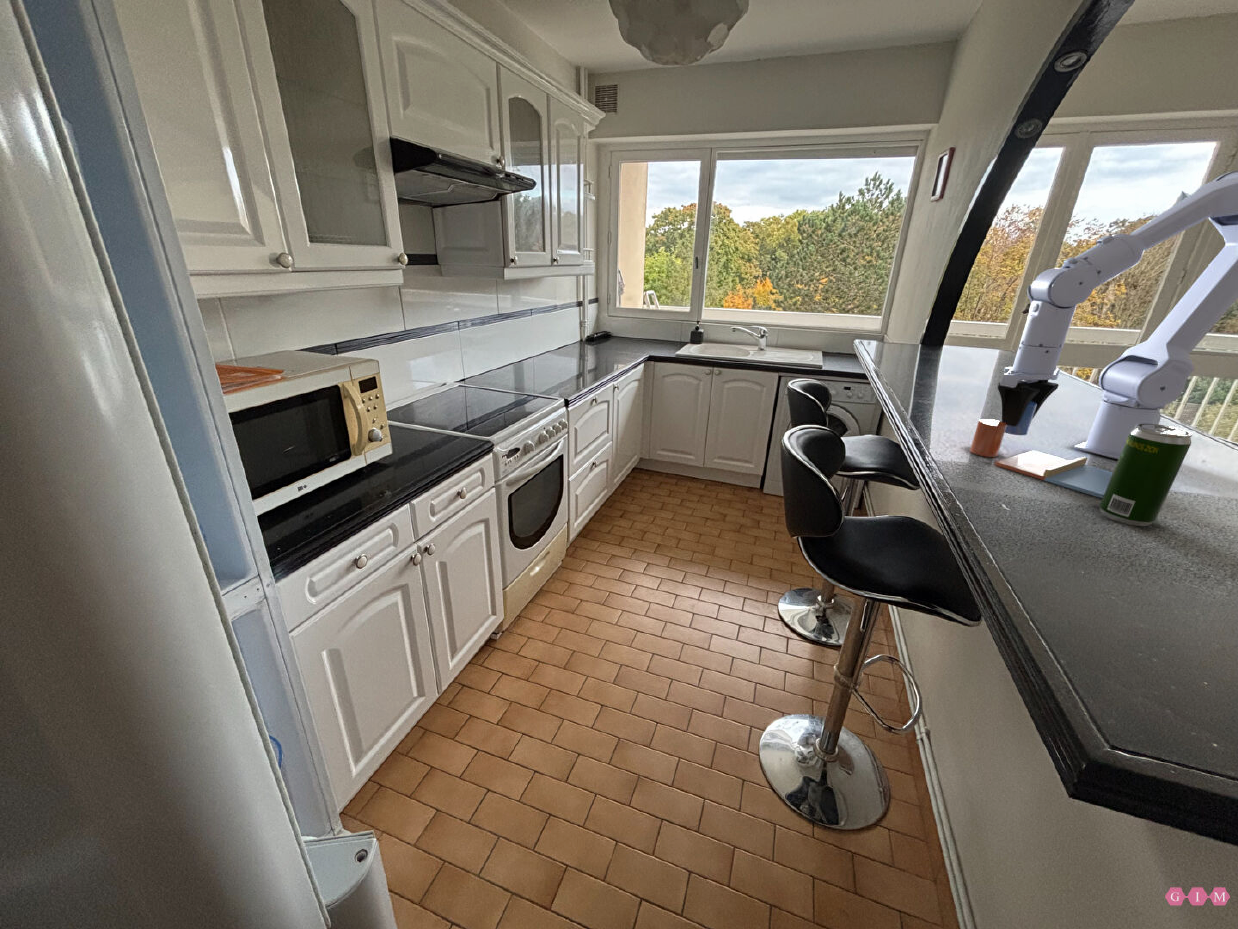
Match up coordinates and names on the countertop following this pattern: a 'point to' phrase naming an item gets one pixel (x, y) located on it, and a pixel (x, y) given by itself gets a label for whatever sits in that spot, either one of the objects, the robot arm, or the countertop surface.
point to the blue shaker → (1023, 421)
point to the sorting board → (1060, 471)
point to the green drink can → (1144, 473)
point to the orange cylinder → (988, 437)
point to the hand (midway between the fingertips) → (1016, 423)
